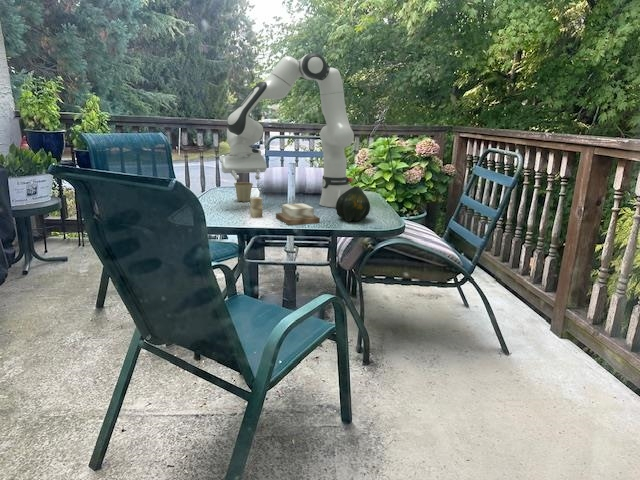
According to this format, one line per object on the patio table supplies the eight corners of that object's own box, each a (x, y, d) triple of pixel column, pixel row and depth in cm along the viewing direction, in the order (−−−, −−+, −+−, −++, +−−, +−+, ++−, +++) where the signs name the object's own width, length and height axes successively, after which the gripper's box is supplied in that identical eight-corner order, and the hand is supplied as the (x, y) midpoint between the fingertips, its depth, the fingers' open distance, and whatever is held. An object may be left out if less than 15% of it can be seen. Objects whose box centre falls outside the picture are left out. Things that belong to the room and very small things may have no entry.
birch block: (259, 215, 195) (259, 197, 193) (262, 217, 192) (262, 198, 190) (250, 215, 194) (250, 197, 191) (253, 217, 190) (253, 199, 188)
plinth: (305, 215, 197) (306, 202, 196) (319, 222, 185) (320, 208, 184) (275, 217, 191) (275, 203, 190) (288, 225, 179) (288, 210, 178)
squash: (330, 210, 184) (356, 183, 182) (328, 204, 198) (352, 179, 196) (355, 233, 186) (380, 207, 184) (351, 226, 201) (375, 201, 199)
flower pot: (257, 200, 227) (257, 183, 225) (244, 203, 220) (244, 185, 217) (243, 198, 232) (242, 181, 230) (230, 200, 224) (229, 183, 222)
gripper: (219, 150, 198) (225, 175, 192) (263, 150, 207) (270, 174, 201) (217, 159, 203) (223, 184, 197) (260, 159, 212) (267, 182, 206)
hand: (247, 179), depth 199 cm, fingers open, 8 cm apart
